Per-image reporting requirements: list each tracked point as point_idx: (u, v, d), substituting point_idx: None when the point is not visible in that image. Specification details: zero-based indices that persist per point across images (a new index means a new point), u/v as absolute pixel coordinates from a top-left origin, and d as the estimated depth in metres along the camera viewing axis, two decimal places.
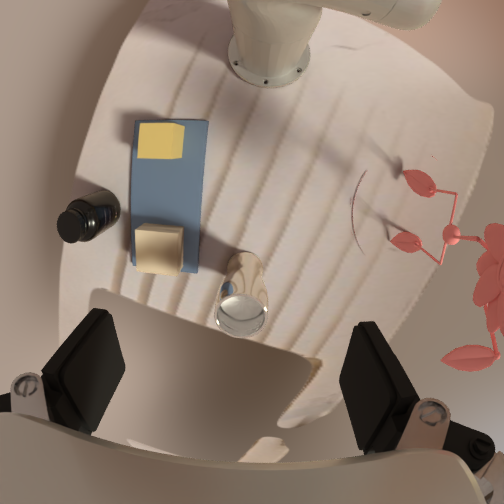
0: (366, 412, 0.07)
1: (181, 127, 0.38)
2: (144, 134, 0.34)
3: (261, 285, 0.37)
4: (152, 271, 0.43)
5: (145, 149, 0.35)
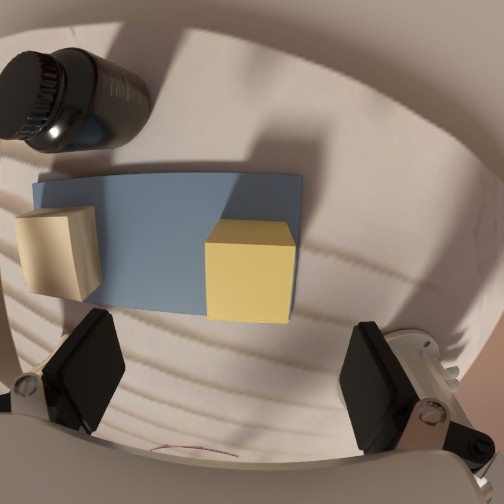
0: (366, 412, 0.07)
1: None
2: (265, 259, 0.16)
3: None
4: (20, 249, 0.18)
5: (227, 263, 0.16)
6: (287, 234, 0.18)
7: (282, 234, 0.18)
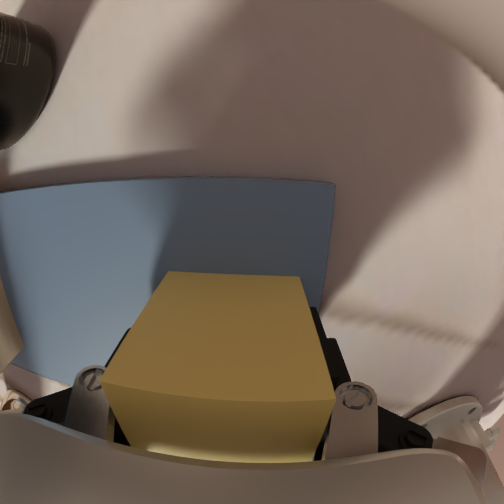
0: None
1: None
2: (254, 423, 0.05)
3: None
4: None
5: (161, 423, 0.05)
6: (308, 331, 0.07)
7: (296, 333, 0.07)
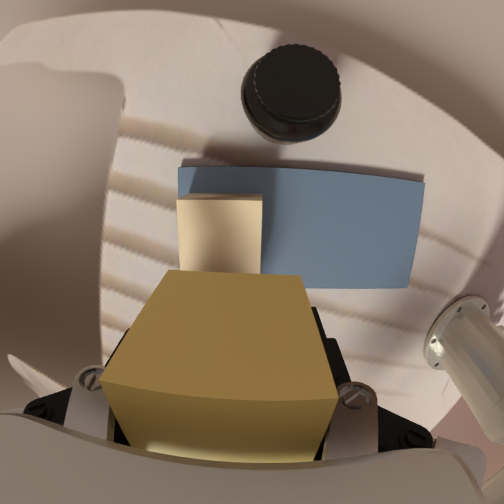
0: None
1: None
2: (255, 422, 0.05)
3: None
4: (181, 233, 0.23)
5: (161, 422, 0.05)
6: (310, 330, 0.07)
7: (298, 332, 0.07)
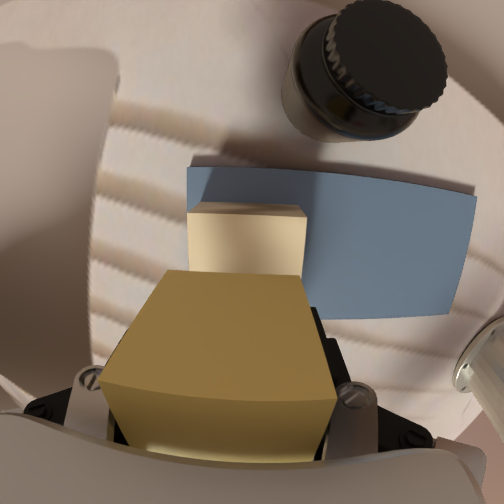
0: None
1: None
2: (254, 423, 0.05)
3: None
4: (193, 258, 0.17)
5: (159, 423, 0.05)
6: (309, 330, 0.07)
7: (297, 332, 0.07)
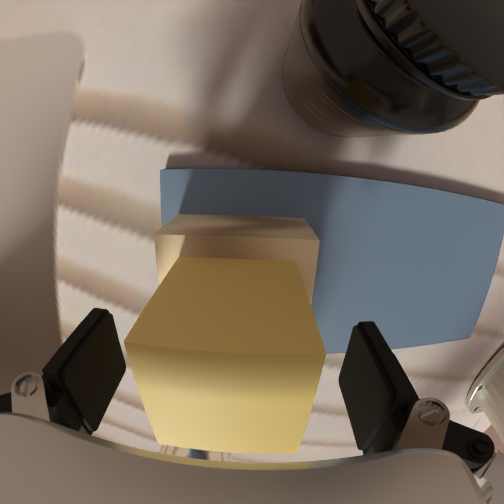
0: (366, 411, 0.07)
1: None
2: (257, 376, 0.07)
3: None
4: None
5: (176, 380, 0.07)
6: (303, 302, 0.09)
7: (292, 304, 0.09)
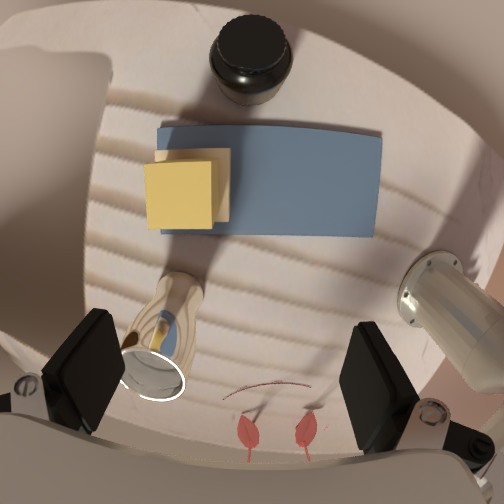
0: (366, 412, 0.07)
1: None
2: (188, 173, 0.19)
3: None
4: None
5: (160, 179, 0.19)
6: None
7: None
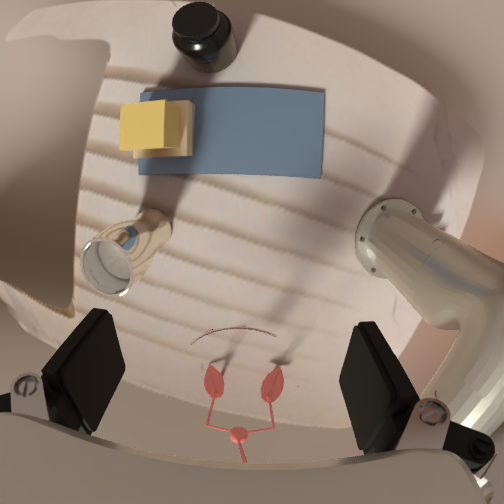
0: (366, 412, 0.07)
1: (172, 147, 0.30)
2: (149, 108, 0.24)
3: (143, 274, 0.30)
4: None
5: (130, 114, 0.24)
6: (169, 103, 0.26)
7: None
